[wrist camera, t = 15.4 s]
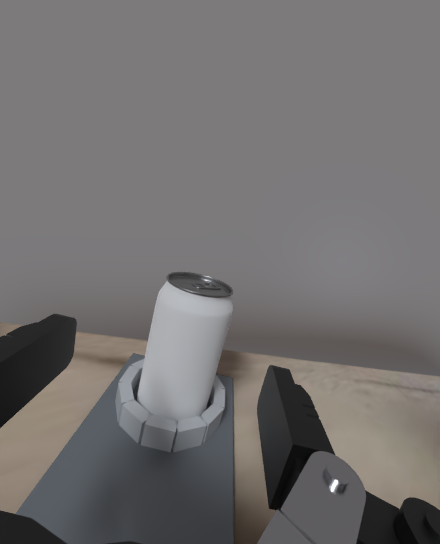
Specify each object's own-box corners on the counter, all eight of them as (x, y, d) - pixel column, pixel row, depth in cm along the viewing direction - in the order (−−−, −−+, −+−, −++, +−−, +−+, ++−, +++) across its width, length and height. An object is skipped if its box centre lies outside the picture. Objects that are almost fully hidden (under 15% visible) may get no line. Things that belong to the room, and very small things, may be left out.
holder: (231, 382, 29) (236, 363, 29) (231, 630, 12) (245, 594, 11) (132, 357, 29) (136, 338, 29) (-20, 569, 11) (-18, 531, 11)
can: (125, 389, 23) (148, 268, 21) (183, 373, 28) (208, 271, 25) (154, 446, 19) (188, 299, 16) (218, 416, 23) (254, 297, 20)
